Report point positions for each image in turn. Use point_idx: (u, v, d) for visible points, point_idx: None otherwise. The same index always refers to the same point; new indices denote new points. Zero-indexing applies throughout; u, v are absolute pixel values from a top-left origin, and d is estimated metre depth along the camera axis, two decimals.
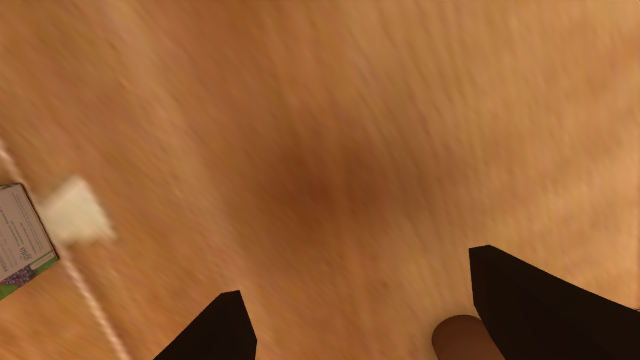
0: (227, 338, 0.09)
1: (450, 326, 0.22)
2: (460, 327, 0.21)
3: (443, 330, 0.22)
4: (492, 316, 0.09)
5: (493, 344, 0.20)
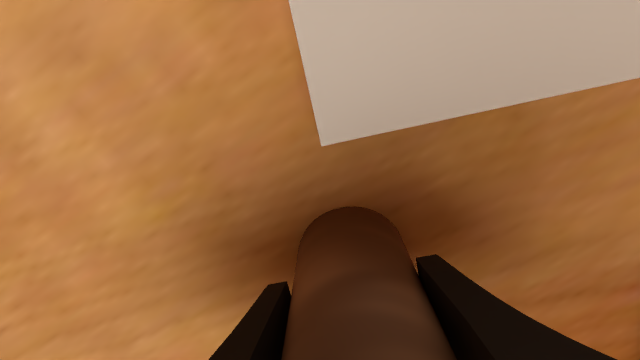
0: (281, 329, 0.09)
1: None
2: None
3: None
4: None
5: (299, 267, 0.10)
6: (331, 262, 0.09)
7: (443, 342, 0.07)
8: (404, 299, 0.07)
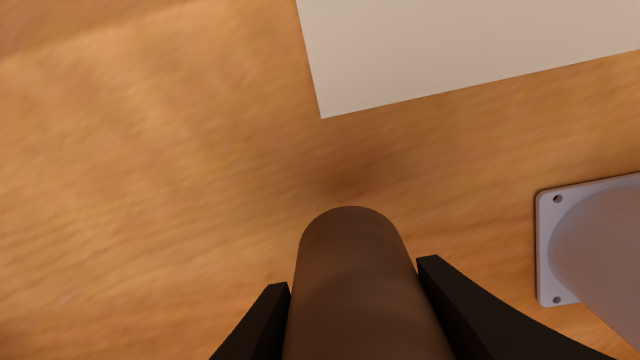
0: (282, 329, 0.09)
1: None
2: None
3: None
4: None
5: (299, 265, 0.10)
6: (330, 260, 0.09)
7: (441, 339, 0.07)
8: (403, 297, 0.07)
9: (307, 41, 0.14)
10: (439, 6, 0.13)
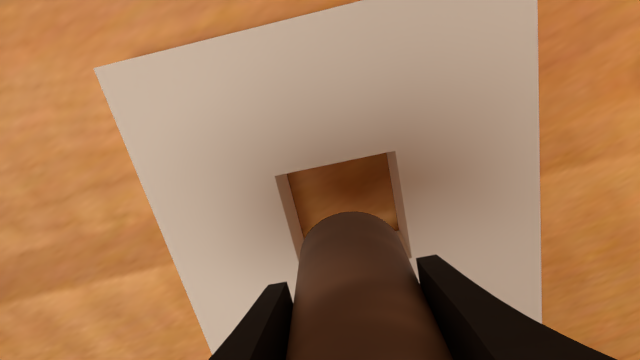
0: (281, 329, 0.09)
1: None
2: None
3: None
4: None
5: (306, 266, 0.10)
6: (342, 266, 0.09)
7: (450, 358, 0.07)
8: (415, 312, 0.07)
9: (208, 341, 0.18)
10: None
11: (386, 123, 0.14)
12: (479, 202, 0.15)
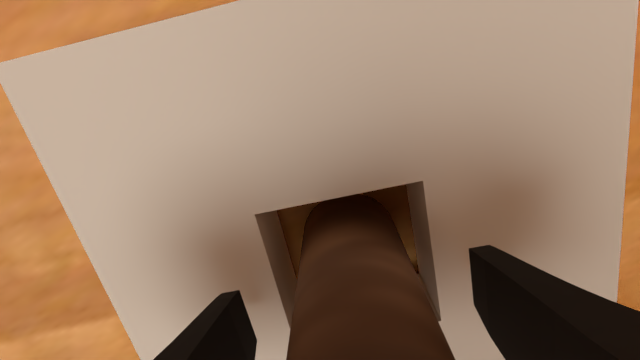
0: (227, 338, 0.09)
1: None
2: None
3: None
4: (492, 316, 0.09)
5: (310, 236, 0.12)
6: (340, 231, 0.10)
7: (425, 296, 0.09)
8: (398, 263, 0.09)
9: None
10: None
11: (411, 143, 0.10)
12: (536, 249, 0.11)
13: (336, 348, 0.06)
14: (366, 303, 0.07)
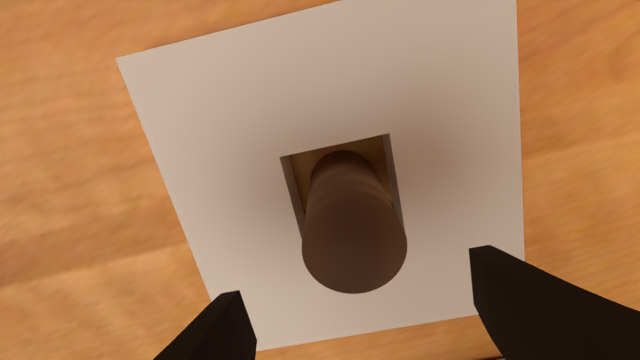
0: (227, 338, 0.09)
1: None
2: None
3: None
4: (492, 316, 0.09)
5: (315, 175, 0.17)
6: (336, 167, 0.16)
7: (387, 197, 0.14)
8: (372, 180, 0.15)
9: None
10: (307, 294, 0.19)
11: (381, 108, 0.15)
12: (466, 180, 0.16)
13: (332, 205, 0.12)
14: (349, 190, 0.13)
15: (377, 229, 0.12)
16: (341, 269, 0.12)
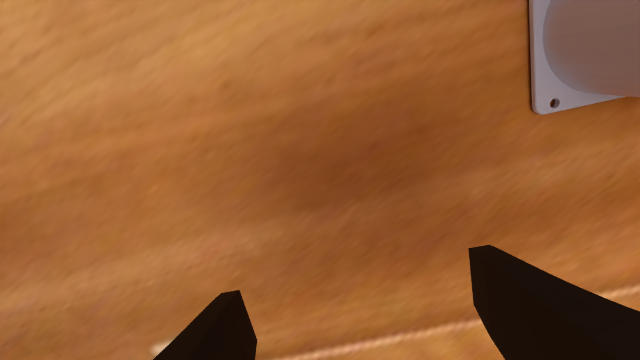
0: (227, 338, 0.09)
1: None
2: None
3: None
4: (492, 316, 0.09)
5: None
6: None
7: None
8: None
9: None
10: None
11: None
12: None
13: None
14: None
15: None
16: None
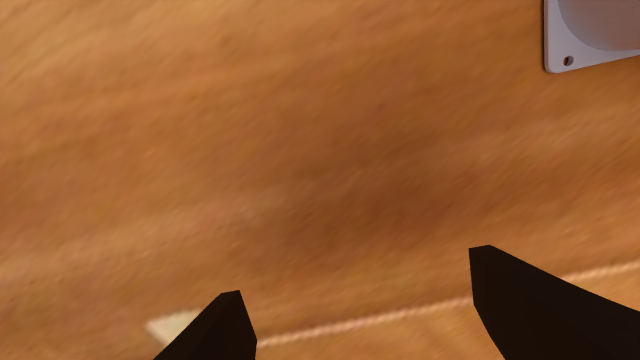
0: (227, 338, 0.09)
1: None
2: None
3: None
4: (492, 316, 0.09)
5: None
6: None
7: None
8: None
9: None
10: None
11: None
12: None
13: None
14: None
15: None
16: None
